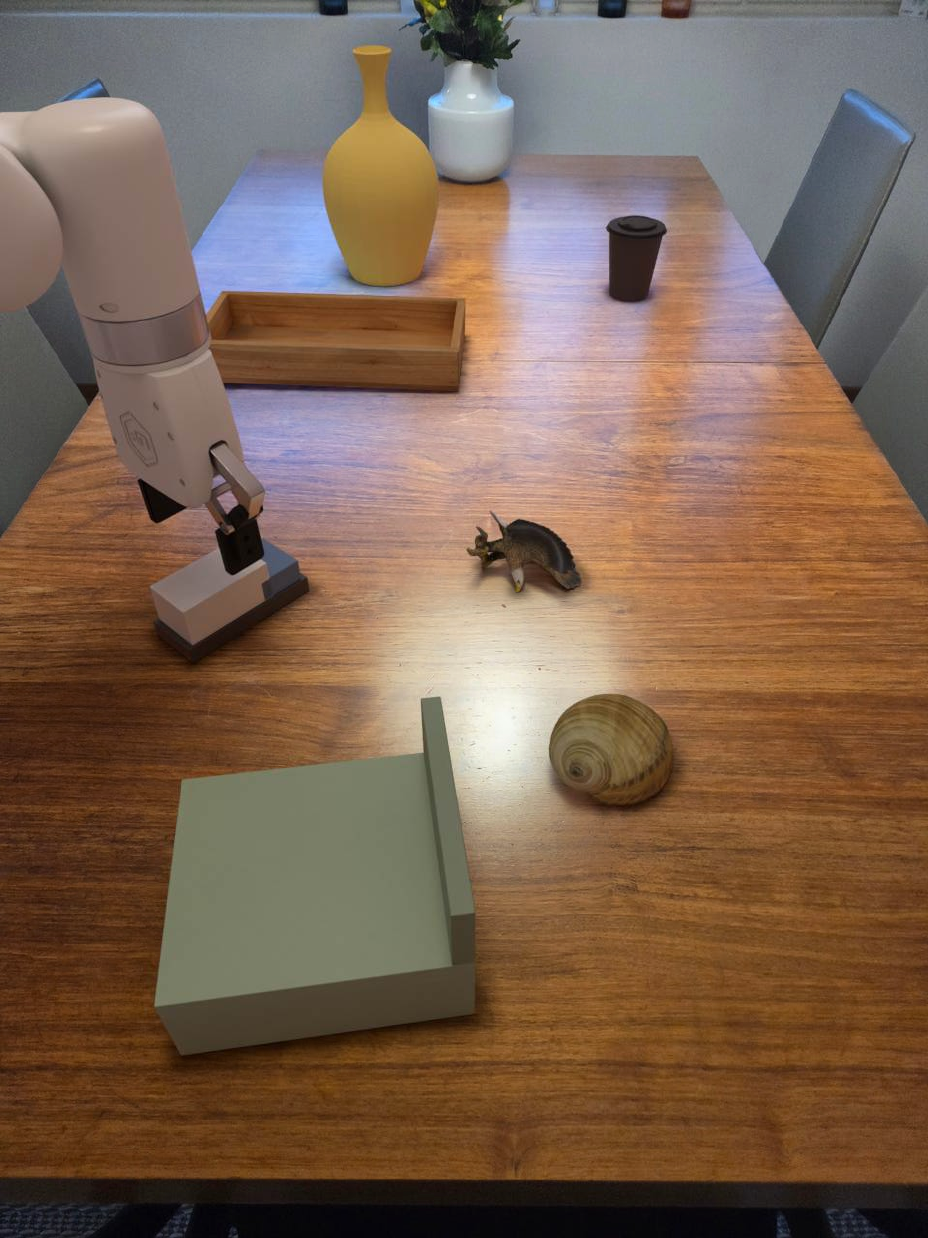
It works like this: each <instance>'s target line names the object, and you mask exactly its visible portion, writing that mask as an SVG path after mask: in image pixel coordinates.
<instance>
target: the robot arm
mask: <svg viewBox="0 0 928 1238" xmlns="http://www.w3.org/2000/svg"><path fill="white" fill-rule="evenodd" d="M164 134H165V133H164V130H163V128H162V125H161V124H160V121H159V119H158V118H157V117H156V115H155V114H154V112H152V111H151V110H150V108H148V107H147V106H145V105H144V104H142V103H140V102H137V101H134V100H130V99H128V98H127V99H126V98H121V97H87V98H76V99H71V100H65V101H59V102H56V103H53V104H50V105H47V106H43V107H42V108H39V109H38V110H31V111H1V112H0V313H1V314H2V313H9V312H14V311H16V310H20V309H24V308H26V307H27V306H29V305H31V304H33V303H35V302H37V301H38V300H39V299H40V298H42V297H43V295H45V294H46V293H47V292H48V291H49V289H50V288H51V286H52V285H53V283H55V281H56V279H57V277H58V273H59V271H60V268H61V267H62V271H63V274H64V278H65V280H66V282H67V286H68V288H69V292H70V295H71V297H72V301H73V303H74V306H75V309H76V314H77V316H78V319H79V321H80V325H81V328H82V332H83V334H84V337H85V341H86V343H87V346H88V349H89V351H90V355H91V357H92V362H93V368H94V374H95V378H96V383H97V388H98V391H99V395H100V400H101V403H102V407H103V410H104V414H105V418H106V421H107V424H108V428H109V431H110V434H111V438H112V441H113V444H114V449H115V451H116V454H117V456H118V459H119V461H120V462H121V464H122V465H123V466H124V467H125V468H126V469H127V470H128V471H129V472H131V473H132V474H133V475H134V476H135V477H137V483H138V487H139V489H140V494H141V495H142V499H143V502H144V504H145V508H146V511H147V514H148V517H149V520H150V521H151V522H152V523H154V524H160V523H162V522H165V520H168V519H170V518H172V517H174V516H175V515H177V514H179V513H181V512H183V511H184V510H186V509H188V508H190V509H199V508H201V506H202V505H205V508H206V509H207V510H208V512H209V513H210V515H211V517H212V518H213V520H214V521H215V524H217V526H218V528H217V529H215V530H214V534H215V537H216V542H217V546H218V548H219V549H220V553H221V556H222V560H223V564H224V567H225V571H226V572H227V573H229V574H230V575H232V576H233V575H235V574H237V573H239V572H240V571H242V570H244V569H245V568H247V567H249V566H250V565H252V564H254V563H255V562H257V561H259V560H260V559H262V558H263V556H264V549H263V544H262V536H261V531H260V528H259V523H258V522H259V521H258V519H259V518H261V514H262V512H264V504H263V503H264V500H265V497H266V496H265V495H266V490H265V488H264V485H262V483H261V482H260V481H259V479H257V477H255V475H254V474H253V473H252V471H250V470H249V469H248V467H247V466H246V461H245V456H244V451H243V447H242V442H241V437H240V435H239V431H238V427H237V424H236V421H235V417H234V414H233V410H232V406H231V403H230V400H229V397H228V394H227V391H226V388H225V385H224V383H223V382H222V379H221V376H220V374H219V371H218V368H217V366H216V363H215V360H214V358H213V355H212V353H211V351H210V350H209V349H208V348H209V346H210V344H211V334H210V330H209V326H208V322H207V318H206V314H207V313H206V308H205V305H204V301H203V297H202V292H201V289H200V287H201V286H200V283H199V278H198V275H197V270H196V265H195V261H194V257H193V254H192V253H193V252H192V248H191V245H190V241H189V236H188V233H187V232H188V231H187V227H186V223H185V218H184V215H183V214H184V213H183V210H182V206H181V201H180V197H179V193H178V188H177V184H176V180H175V175H174V170H173V166H172V163H171V158H170V153H169V150H168V145H167V141H166V137H165V135H164ZM219 476H221V477H222V478H223V479H224V481H225V482H223V483H221V484H219V485H217V486H215V487H213V484H214V479H215V478H217V477H219ZM138 478H139V479H138ZM228 492H231V494H232V495H233V497H234V498H235V500H236V502H237V504H236V505H235V506H233V507H232V508H231V509H230V511H228V512H227V511H226V510H225V509H224V507H223V505H222V504H221V502H220V501H219V499H218V498H219V497H221V496H223V495H225V494H227V493H228Z"/></svg>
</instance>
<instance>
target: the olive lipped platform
mask: <svg viewBox="0 0 928 1238" xmlns="http://www.w3.org/2000/svg"><path fill="white" fill-rule="evenodd" d="M443 708H444V707H443V702H442V697H441V696H440V695H439V696H430V697H422V698H420V713H421V732H422V748H423V750H422V751H423V752H417V753H405V754H399V755H389V756H381V757H379V756H378V757H371V758H363V759H354V760H344V761H335V762H325V763H317V764H316V763H315V764H308V765H300V766H291V767H281V768H272V769H262V770H254V771H247V772H245V771H244V772H237V773H227V774H219V775H209V776H202V777H192V778H185V779H184V778H183V779H181V782H180V783H181V784H180V790H179V791H180V792H179V798H178V799H179V800H178V809H177V814H176V815H177V816H176V825H175V833H174V839H173V848H172V856H171V857H172V858H171V865H170V873H169V882H168V888H167V897H166V906H165V913H164V921H163V930H162V937H161V938H162V940H161V947H160V954H159V961H158V962H159V963H158V971H157V978H156V979H157V980H156V988H155V996H154V1003H153V1008H154V1009H155V1011H156V1013H157V1015H158V1018H159V1019H160V1020H161V1022H162V1024H163V1026H164V1027H165V1029H166V1031H167V1033H168V1034H169V1037H170V1038H171V1040H172V1042H173V1044H174V1046H175V1048H176V1050H177V1051H178V1053H179V1055H180V1056H187V1055H195V1054H203V1053H208V1052H215V1051H222V1050H223V1051H224V1050H230V1049H231V1050H232V1049H238V1048H243V1047H251V1046H258V1045H265V1044H270V1043H271V1044H272V1043H278V1042H286V1041H293V1040H300V1039H301V1040H302V1039H307V1038H313V1037H314V1038H315V1037H321V1036H328V1035H329V1036H330V1035H334V1034H341V1033H350V1032H356V1031H363V1030H370V1029H378V1028H386V1027H392V1026H399V1025H405V1024H412V1023H420V1022H426V1021H427V1022H428V1021H435V1020H441V1019H448V1018H454V1017H455V1018H456V1017H462V1016H469V1015H474V1014H475V1011H476V921H477V920H476V919H477V918H476V916H477V915H476V914H477V912H476V906H475V899H474V894H473V887H472V882H471V881H472V880H471V874H470V869H469V862H468V857H467V851H466V844H465V837H464V832H463V827H462V826H463V825H462V819H461V815H460V814H461V813H460V808H459V802H458V801H459V799H458V794H457V788H456V783H455V777H454V776H455V775H454V771H453V764H452V757H451V752H450V751H451V750H450V745H449V740H448V733H447V728H446V727H447V726H446V721H445V714H444V709H443Z"/></svg>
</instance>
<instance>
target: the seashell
mask: <svg viewBox="0 0 928 1238" xmlns="http://www.w3.org/2000/svg"><path fill="white" fill-rule="evenodd" d="M548 744H549V745H548V756H549V757H548V758H549V761H550V764H551V767H552V769H553V771H554V772H555V774H556V775H557V777H558V778H559V779H560V780H561V781H562V782H563V784H566V785H567V786H569V787H570V788H571V789H573V790H575V791H577V792H583V793H588V794H589V795H590V796H591V798H592V800H595V801H596V802H597V801H598V802H599V803H602V804H606V805H611V806H615V805H617V806H621V805H622V806H624V807H627V806H629V805H630V804H639V803H641V802H643V801H646V800H650V799H651V798H652V797H653V796H657V794H658V793H659V792H660V791H662V789H663V787H664V786H666V785H667V782H668V780H669V777H670V774H671V772H672V767H673V762H674V745H673V742H672V738H671V735H670V732H669V728H668V725H667V724H666V723H665V721H664V720H663V718H662V717H661V716H660V715H659V714H658V712H656V711H655V710H654V709H653V708H651V707H649V706H648V705H647V704H645V703H644V702H642V701H640V700H638V699H635V698H633V697H631V696H628V695H626V694H620V693H602V694H594V695H590V696H588V697H585V698H582V699H581V700H579V701H577V702H574V703H573V704H572V705H570V706H569V707H568V708H566V709H565V710H564V711H563V712H562V714H560V716H559V718H558V719H557V721H556V722H555V724H554V726H553V728H552V731H551V734H550V737H549V743H548Z"/></svg>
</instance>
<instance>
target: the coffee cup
mask: <svg viewBox="0 0 928 1238" xmlns="http://www.w3.org/2000/svg"><path fill="white" fill-rule="evenodd" d="M605 229H606V232H607V233H608V294H609V295H608V296H610V297H611V298H612V299H613V300H615V301H619V302H623V303H638V302H642V301H645V300H646V299H647V298H648V296H649V292H650V289H651V285H652V281H653V276H654V273H655V270H656V269H655V268H656V265H657V260H658V256H659V252H660V250H661V249H660V248H661V245H662V241H663V237H664V236H665V235H666V234H667V232H668V229H667V227H666V224H665V223H664V222H663V221H661V220H659V219H656V218H653V217H649V216H645V215H638V214H636V215H635V214H633V215H625V216H619V217H616V218H615V217H614V218H613V219H611V220H609V222H608V224H607V225H606V226H605Z"/></svg>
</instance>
